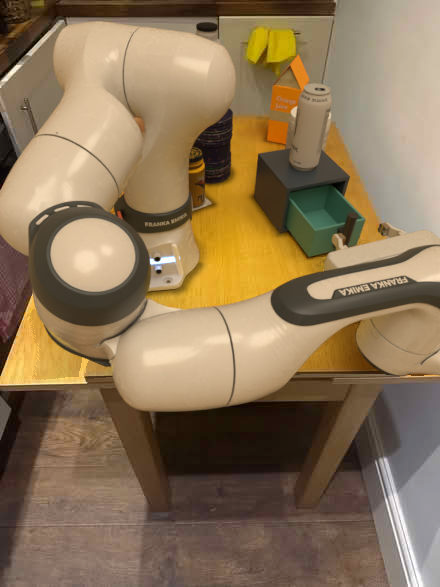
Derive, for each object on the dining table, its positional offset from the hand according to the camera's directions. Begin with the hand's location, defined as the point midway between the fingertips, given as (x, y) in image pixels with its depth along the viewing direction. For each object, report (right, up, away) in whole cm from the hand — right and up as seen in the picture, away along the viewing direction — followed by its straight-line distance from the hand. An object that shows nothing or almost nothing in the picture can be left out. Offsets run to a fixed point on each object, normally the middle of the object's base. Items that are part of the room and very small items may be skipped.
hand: (359, 231), depth 71 cm
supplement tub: (-4, +20, +32) cm, 38 cm away
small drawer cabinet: (-8, +8, +21) cm, 24 cm away
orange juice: (-6, +34, +44) cm, 56 cm away
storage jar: (-27, +19, +30) cm, 45 cm away
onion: (-47, +26, +36) cm, 65 cm away
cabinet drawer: (-4, +1, +13) cm, 13 cm away
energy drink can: (-7, +15, +13) cm, 21 cm away
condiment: (-32, +10, +22) cm, 40 cm away
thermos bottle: (-28, +30, +41) cm, 58 cm away
